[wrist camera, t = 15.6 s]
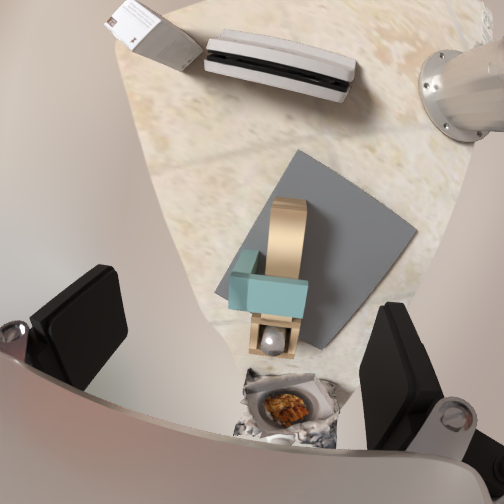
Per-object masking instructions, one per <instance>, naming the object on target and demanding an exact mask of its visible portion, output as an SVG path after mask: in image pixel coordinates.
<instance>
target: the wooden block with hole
mask: <svg viewBox="0 0 504 504" xmlns="http://www.w3.org/2000/svg"><path fill="white" fill-rule="evenodd" d="M306 217H307V205H306V200H305V199H296V198H287V197H278V196H276V197H275V199H274V202H273V204H272V206H271V215H270V226H269V238H268V249H267V260H266V271H265V276H273V277H281V278H289V279H298V277H299V270H300V263H301V256H302V248H303V241H304V233H305V225H306ZM265 325H270V326H278V327H286V337H285V347H284V351H283V353H282V354H280V355H278V356H271V357H278V358H287V359H294V356H295V351H296V346H297V341H298V336H299V330H300V325H301V318H293V317H285V316H277V315H269V314H261V313H254V312H253V314H252V318H251V331H250V343H249V354H256V355H263V356H268V355H266V354H264V353H263V352H262V350H261V342H262V337H263V332H264V328H265Z"/></svg>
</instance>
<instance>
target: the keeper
mask: <svg viewBox="0 0 504 504" xmlns="http://www.w3.org/2000/svg"><path fill="white" fill-rule="evenodd" d="M258 256H259V251H257V250H249V249H243V250H242V252H241V254H240V256H239V258H238V260H237V262H236V264H235V266H234V268H233V270H232V272H231V274H230V276H229V305H228V309H233V310H240V311H247V312H254V313H261V314H269V315H277V316H285V317H293V318H302V319H303V313H304V308H305V302H306V296H307V290H308V281H306V280H298V279H289V278H281V277H273V276H265V275H257V269H258Z"/></svg>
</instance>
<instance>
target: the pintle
mask: <svg viewBox="0 0 504 504" xmlns="http://www.w3.org/2000/svg"><path fill="white" fill-rule="evenodd" d="M285 337H286V327H278V326H270V325H265V328H264V332H263V337H262V342H261V350H262V352H263V353H264V354H266V355H268V356H278V355H280V354H282V353H283V351H284V347H285Z"/></svg>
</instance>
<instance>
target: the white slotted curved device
mask: <svg viewBox="0 0 504 504" xmlns="http://www.w3.org/2000/svg"><path fill="white" fill-rule="evenodd" d="M206 49H208V53H212V54H211V55H209V56H207V58H206V59H204V68H205V70H206V71H209V72H213V73H218V74H222V75H226V76H231V77H235V78H240V79H244V80H248V81H253V82H257V83H261V84H265V85H270V86H274V87H278V88H282V89H286V90H291V91H295V92H299V93H303V94H307V95H311V96H315V97H319V98H323V99H327V100H331V101H334V102H339V103H343V101H344V100H345V98H346V96H347V95H348V93H349V91H350V89H351V87H349V85H350V84H349V83H350V82H352V81H353V79H354V74H355V65H356V60H355V59H352V58H349V57H346V56H343V55H340V54H337V53H333V52H330V51H327V50H324V49H320V48H317V47H313V46H309V45H305V44H302V43H298V42H293V41H289V40H285V39H280V38H276V37H271V36H266V35H260V34H255V33H249V32H242V31H235V30H227V29H224V30H223V32H222V33H221V35H220V37H216V38H210V39H209V41H208V44H207V46H206ZM270 65H272V66H276V67H272V66H270ZM277 67H280V68H277ZM281 68H285V69H289V70H293V71H297V72H293V71H289V70H285V69H281Z"/></svg>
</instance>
